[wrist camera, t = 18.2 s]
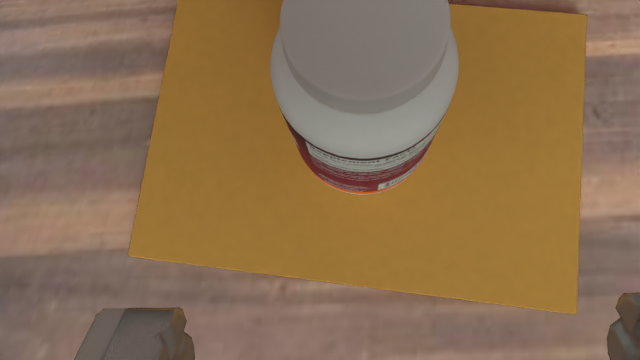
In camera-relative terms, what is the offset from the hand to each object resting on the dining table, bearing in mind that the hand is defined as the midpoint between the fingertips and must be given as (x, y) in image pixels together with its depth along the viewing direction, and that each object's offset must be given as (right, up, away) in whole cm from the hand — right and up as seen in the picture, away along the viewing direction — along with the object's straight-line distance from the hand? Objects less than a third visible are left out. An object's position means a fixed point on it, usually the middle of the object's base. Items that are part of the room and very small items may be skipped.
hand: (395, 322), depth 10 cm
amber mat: (+1, +5, +16) cm, 17 cm away
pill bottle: (+1, +5, +15) cm, 16 cm away
